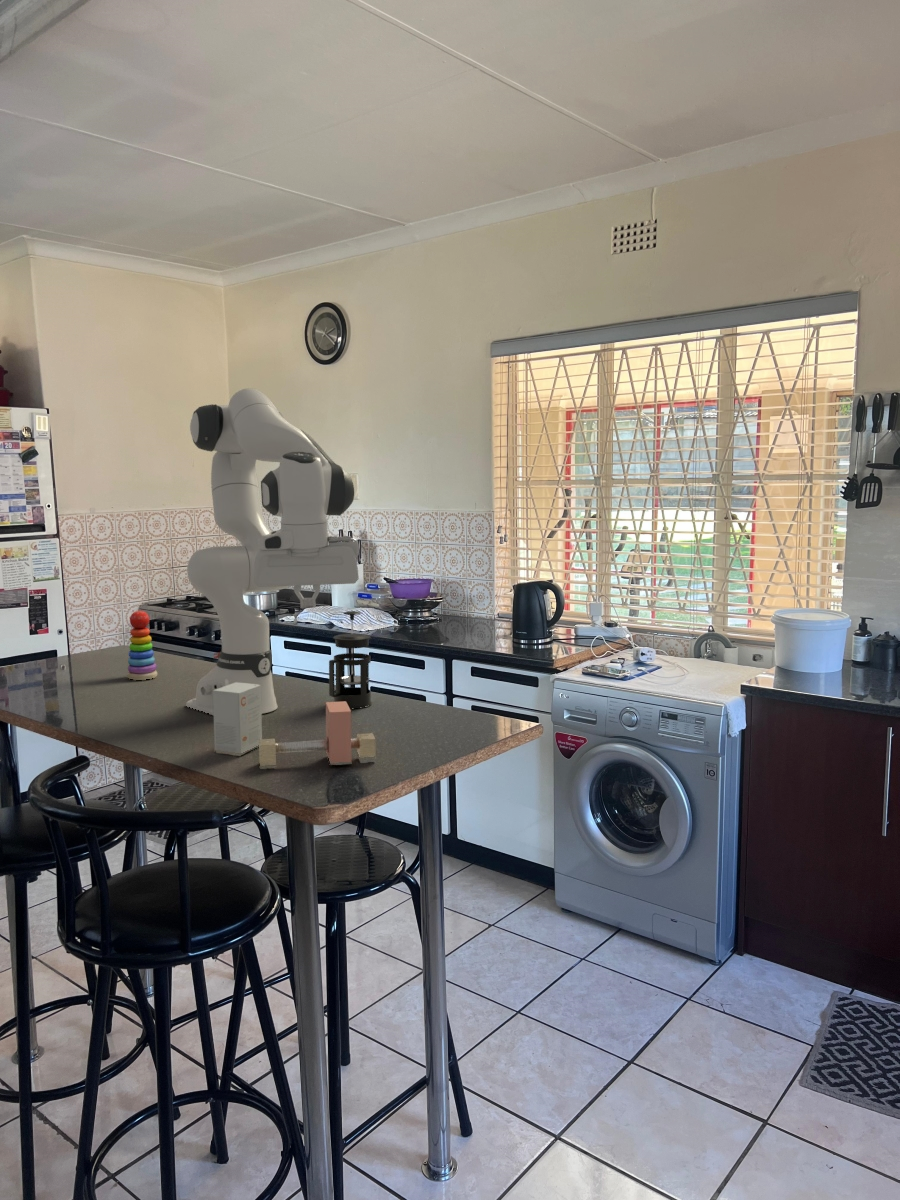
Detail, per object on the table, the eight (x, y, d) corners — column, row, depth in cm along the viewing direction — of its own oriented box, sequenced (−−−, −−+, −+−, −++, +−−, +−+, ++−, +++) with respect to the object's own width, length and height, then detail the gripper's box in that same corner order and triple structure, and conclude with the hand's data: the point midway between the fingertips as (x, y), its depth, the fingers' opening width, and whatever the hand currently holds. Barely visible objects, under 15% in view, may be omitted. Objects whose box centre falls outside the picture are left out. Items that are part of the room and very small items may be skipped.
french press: (357, 697, 227) (357, 607, 224) (381, 704, 221) (381, 611, 218) (319, 705, 219) (318, 611, 216) (343, 712, 213) (342, 616, 210)
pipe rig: (259, 769, 170) (259, 745, 169) (259, 763, 174) (258, 739, 173) (375, 762, 175) (375, 738, 174) (372, 756, 179) (372, 733, 178)
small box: (236, 742, 187) (235, 681, 186) (263, 746, 185) (261, 684, 183) (213, 753, 180) (211, 689, 178) (240, 757, 178) (238, 692, 176)
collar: (330, 766, 171) (329, 712, 169) (326, 753, 179) (325, 702, 177) (351, 764, 172) (351, 711, 170) (346, 752, 179) (346, 701, 178)
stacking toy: (125, 676, 249) (123, 609, 247) (155, 674, 253) (153, 608, 250) (128, 682, 242) (125, 613, 240) (159, 679, 246) (157, 611, 243)
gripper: (358, 533, 178) (360, 602, 181) (253, 537, 176) (257, 606, 178) (359, 537, 172) (361, 608, 175) (250, 541, 170) (254, 612, 172)
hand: (308, 607), depth 177 cm, fingers closed
